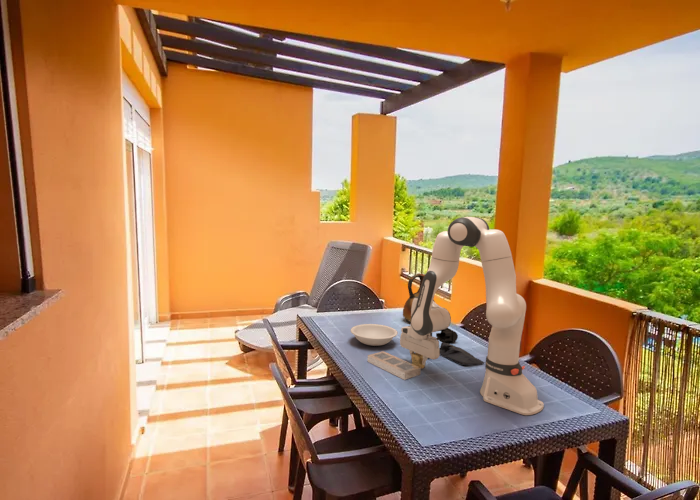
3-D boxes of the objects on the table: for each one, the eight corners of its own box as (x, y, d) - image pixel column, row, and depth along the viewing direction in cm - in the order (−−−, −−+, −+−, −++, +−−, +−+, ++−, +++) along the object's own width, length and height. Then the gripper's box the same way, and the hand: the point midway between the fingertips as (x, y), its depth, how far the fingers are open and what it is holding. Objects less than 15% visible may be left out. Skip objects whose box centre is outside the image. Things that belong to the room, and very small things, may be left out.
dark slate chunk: (460, 369, 181) (460, 358, 180) (432, 351, 201) (432, 342, 200) (487, 365, 186) (488, 355, 186) (457, 348, 207) (458, 339, 206)
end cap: (457, 343, 214) (458, 331, 213) (445, 344, 211) (446, 332, 210) (446, 337, 223) (447, 325, 222) (435, 338, 220) (436, 326, 220)
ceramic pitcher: (441, 326, 244) (444, 276, 240) (410, 327, 238) (413, 277, 235) (426, 317, 263) (429, 271, 259) (397, 318, 257) (400, 271, 254)
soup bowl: (344, 348, 200) (345, 335, 199) (355, 333, 223) (356, 321, 222) (393, 354, 194) (394, 340, 193) (399, 338, 217) (400, 326, 217)
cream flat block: (420, 374, 172) (420, 367, 171) (404, 379, 166) (404, 372, 165) (383, 357, 190) (383, 351, 189) (367, 361, 184) (367, 355, 183)
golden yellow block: (424, 367, 179) (425, 354, 179) (418, 369, 177) (419, 356, 176) (417, 364, 182) (418, 351, 182) (411, 366, 180) (412, 353, 179)
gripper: (443, 337, 172) (441, 368, 173) (408, 325, 188) (406, 354, 189) (434, 340, 168) (431, 372, 169) (398, 327, 184) (396, 356, 185)
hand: (418, 362), depth 179 cm, fingers closed on golden yellow block, 4 cm apart
